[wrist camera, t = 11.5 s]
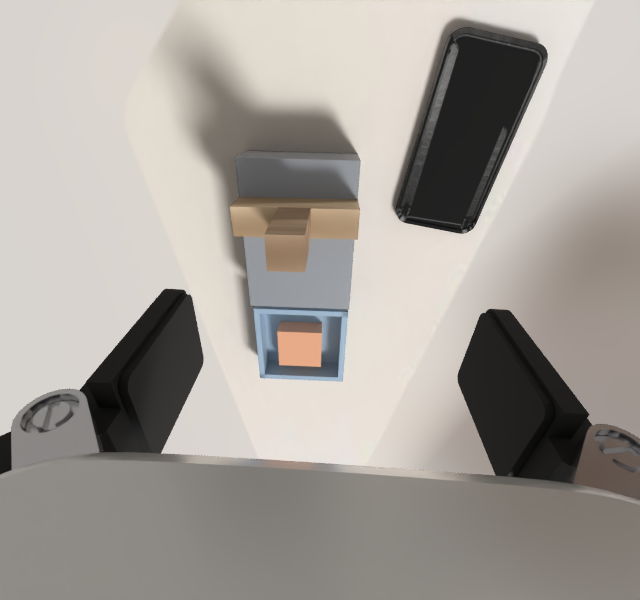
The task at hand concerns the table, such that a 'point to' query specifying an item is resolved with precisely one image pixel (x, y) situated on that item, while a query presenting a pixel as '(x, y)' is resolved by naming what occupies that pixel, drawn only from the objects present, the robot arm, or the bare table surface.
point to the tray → (330, 319)
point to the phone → (468, 127)
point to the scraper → (293, 226)
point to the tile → (300, 343)
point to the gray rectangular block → (324, 254)
